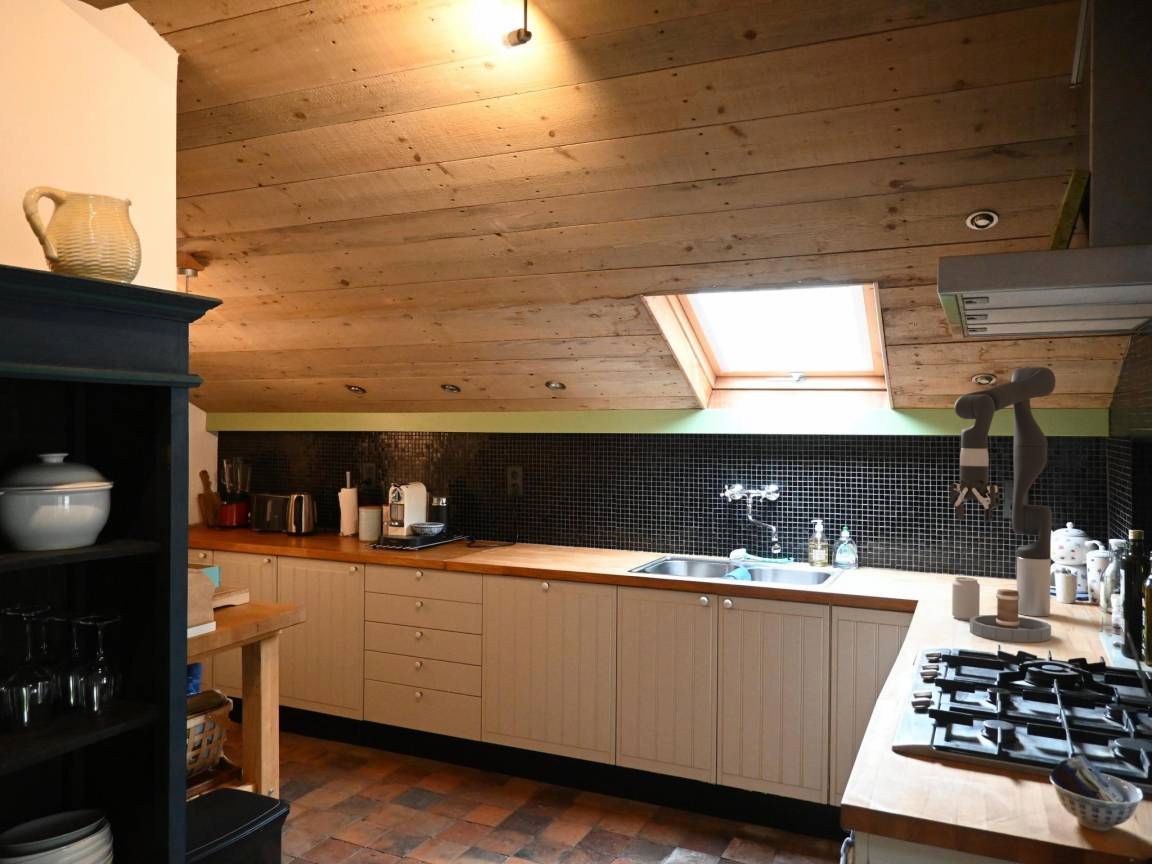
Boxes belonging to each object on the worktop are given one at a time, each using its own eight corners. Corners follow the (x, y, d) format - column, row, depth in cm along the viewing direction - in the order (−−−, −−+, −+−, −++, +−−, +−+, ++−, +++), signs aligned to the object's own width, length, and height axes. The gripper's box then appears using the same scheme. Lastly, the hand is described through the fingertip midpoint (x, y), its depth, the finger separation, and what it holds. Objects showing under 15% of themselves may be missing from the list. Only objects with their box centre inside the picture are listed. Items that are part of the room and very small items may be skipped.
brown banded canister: (993, 628, 251) (993, 588, 251) (1015, 629, 250) (1016, 589, 250) (999, 632, 246) (999, 592, 246) (1021, 633, 245) (1022, 593, 245)
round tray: (962, 624, 259) (962, 613, 259) (1037, 628, 256) (1037, 616, 256) (979, 640, 240) (979, 628, 240) (1061, 644, 236) (1061, 632, 236)
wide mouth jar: (946, 617, 271) (946, 576, 271) (965, 615, 274) (965, 575, 274) (966, 622, 264) (966, 580, 264) (985, 620, 267) (985, 579, 267)
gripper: (1005, 465, 255) (1004, 522, 255) (960, 463, 267) (959, 518, 267) (989, 465, 251) (988, 523, 251) (944, 463, 263) (943, 519, 263)
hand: (973, 520), depth 259 cm, fingers open, 8 cm apart
